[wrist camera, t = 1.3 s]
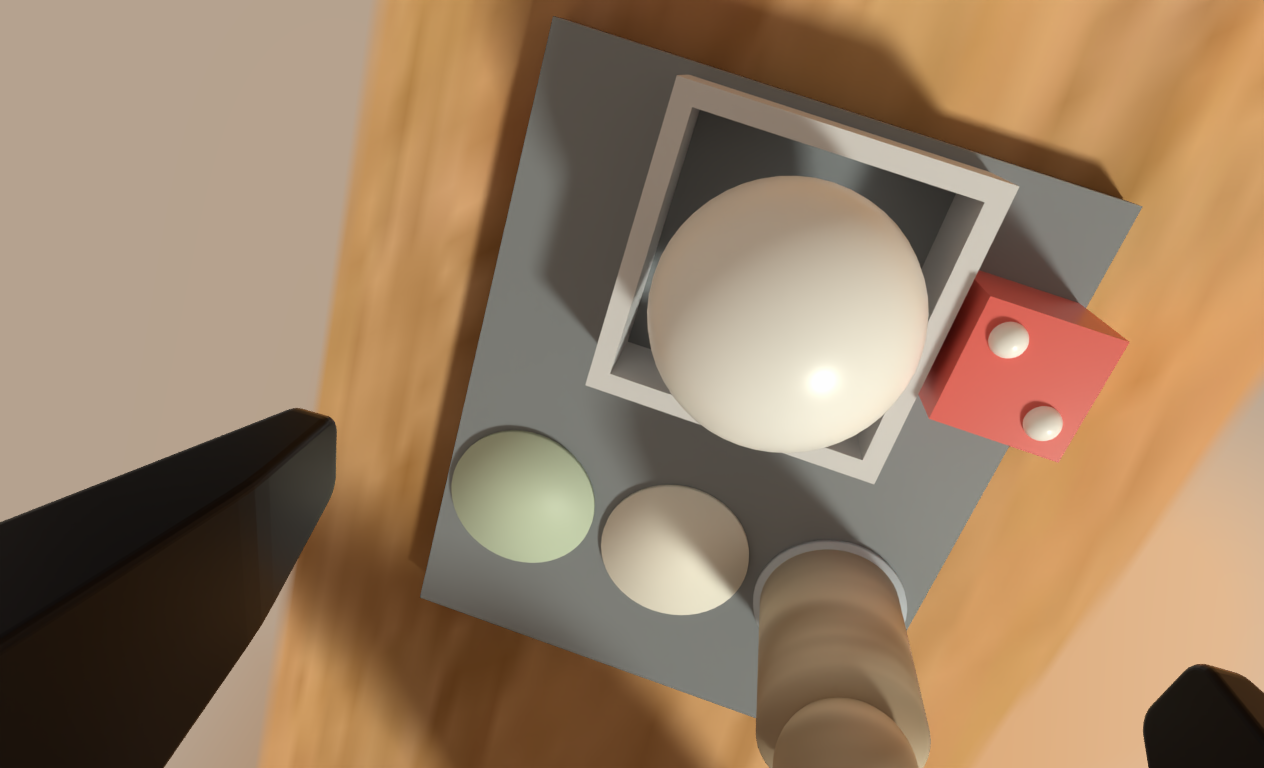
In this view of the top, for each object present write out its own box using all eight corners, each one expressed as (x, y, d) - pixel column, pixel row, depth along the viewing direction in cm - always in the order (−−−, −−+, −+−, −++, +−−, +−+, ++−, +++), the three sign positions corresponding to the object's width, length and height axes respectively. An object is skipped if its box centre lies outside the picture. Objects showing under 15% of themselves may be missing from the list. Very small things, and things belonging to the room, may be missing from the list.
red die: (1020, 409, 21) (1064, 470, 17) (908, 372, 21) (932, 426, 18) (1079, 303, 19) (1137, 348, 16) (960, 263, 19) (994, 301, 16)
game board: (838, 725, 26) (846, 816, 23) (431, 579, 27) (385, 648, 24) (1125, 200, 19) (1194, 226, 16) (563, 18, 20) (522, 8, 17)
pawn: (902, 662, 24) (954, 910, 17) (765, 663, 25) (761, 899, 18) (897, 546, 22) (953, 764, 15) (753, 551, 23) (744, 759, 16)
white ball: (849, 422, 20) (874, 545, 15) (637, 350, 20) (590, 446, 15) (947, 206, 18) (1017, 262, 13) (707, 128, 18) (681, 152, 13)
